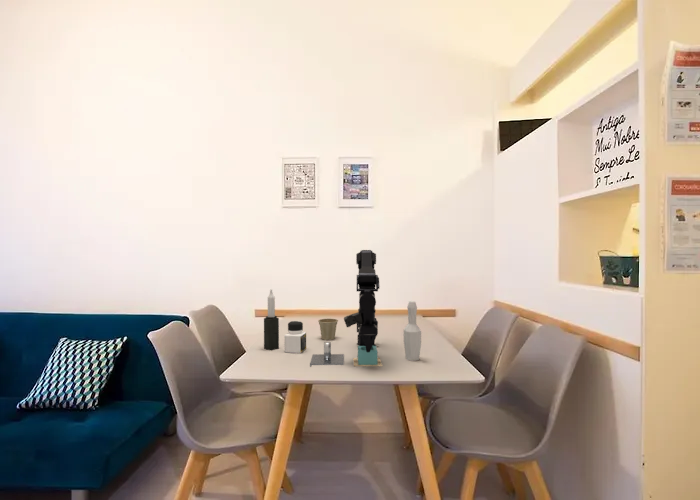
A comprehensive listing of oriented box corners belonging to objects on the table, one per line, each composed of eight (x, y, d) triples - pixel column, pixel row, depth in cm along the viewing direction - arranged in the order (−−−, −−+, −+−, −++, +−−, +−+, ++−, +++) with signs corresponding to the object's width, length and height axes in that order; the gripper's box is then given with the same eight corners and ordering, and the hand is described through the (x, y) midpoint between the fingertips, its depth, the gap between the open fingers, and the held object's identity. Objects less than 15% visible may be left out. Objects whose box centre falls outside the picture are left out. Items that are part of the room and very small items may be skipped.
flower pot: (337, 341, 173) (337, 322, 173) (317, 341, 173) (317, 322, 173) (338, 336, 182) (338, 318, 182) (319, 336, 183) (319, 318, 183)
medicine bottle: (300, 353, 153) (300, 323, 153) (284, 352, 155) (283, 322, 155) (306, 348, 160) (306, 320, 160) (290, 348, 162) (290, 319, 162)
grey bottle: (400, 359, 145) (400, 301, 144) (414, 357, 147) (414, 300, 147) (409, 363, 139) (409, 303, 139) (424, 361, 141) (424, 302, 141)
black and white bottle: (273, 346, 165) (272, 288, 165) (280, 348, 161) (279, 289, 161) (262, 348, 161) (262, 289, 161) (269, 350, 158) (269, 290, 157)
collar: (357, 359, 142) (357, 345, 142) (375, 359, 143) (375, 345, 143) (358, 364, 136) (358, 350, 136) (377, 364, 136) (377, 350, 136)
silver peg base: (312, 357, 148) (312, 339, 148) (343, 356, 148) (343, 338, 148) (309, 366, 136) (309, 346, 136) (343, 366, 136) (343, 346, 136)
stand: (353, 359, 144) (353, 347, 144) (379, 359, 144) (379, 347, 144) (354, 368, 134) (354, 354, 134) (382, 367, 134) (382, 354, 134)
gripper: (345, 302, 148) (345, 342, 148) (345, 310, 130) (345, 356, 130) (373, 302, 149) (373, 342, 149) (377, 310, 130) (378, 356, 130)
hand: (367, 348), depth 139 cm, fingers open, 9 cm apart
